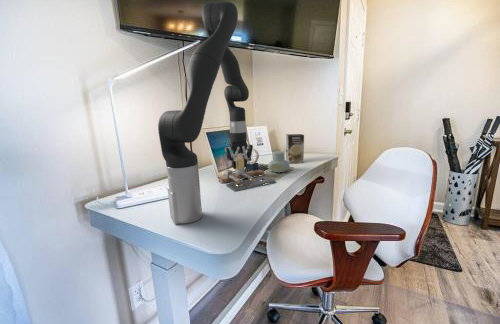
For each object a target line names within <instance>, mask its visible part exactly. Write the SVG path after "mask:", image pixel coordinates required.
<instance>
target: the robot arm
mask: <svg viewBox="0 0 500 324" xmlns="http://www.w3.org/2000/svg"><path fill="white" fill-rule="evenodd" d="M201 12H202V13H201V16H202V23H203V27H204V29H205V31H206V34H207V36H208V38H207V39H205V40H204V41H202V43H201V44H199V45H198V46H197V47H196V48H195V49H194V51H193V52H192V54H191V57H190V59H189V62H188V63H187V67H186V71H185V77H186V82H187V86H188V89H189V90H188V91H189V94H188V98H187V100H186V103H185V106H184V107H183V108H182V110H178V109H177V110H166V111H164V112H162V113H161V115H160V117H159V120H158V123H157V131H158V136H159V144H160V148H161V149H160V150H161V155H162V157H163V160H164V161H165V166H166V174H167V181H168V182H167V183H168V188H167V196H168V203H169V204H168V205H169V214H170V218H171V220H172V222H173V223H174V225H178V224H182V225H183V224H190V223H191V224H192V223H195V222H196V221H199V220H200V219H201V218H202V217H203V208H202V207H203V206H202V198H201V197H202V196H201V185H200V173H199V161H198V159H199V158H198V155H197V153H195V152H193V151H192V150H191V149H189V148H188V146H187V145H186V143H187V144H188V143H189V144H190V143H193V142H195V141H196V140H197V139H198V137H199V136H200V133H201V130H202V127H203V122H204V120H205V115H206V110H207V106H208V102H209V99H210V97H211V96H210V95H211V93H212V89H213V86H214V83H215V82H216V79H217V76H218V73H219V70H220V68H221V71H222V75H223V78H224V82H225V83H226V84H228V85H227V86H225V88H224V92H223V94H224V98H225V102H226V104H227V108H228V112H229V137H230V138H229V140H230V141H229V142H230V145H229V146H227V147H223V149H224V152H225V156H226V158H227V160H229V161H231V168H232V169H234V170H235V169H236V158H237V157H238V154H240V155H241V157H242V158H244V168H246V166H247V164H248V163H247V159H248V160H249V159H250V158H251V157H252V155H253V154H252V153H253V150H252V149H254V146H253V144H248V141H247V140H248V134H247V123H246V122H247V121H246V109H245V108H244V107H242V106H237V105H236V104H235V102H237V103H238V102H239V103H240V102H246V101H247V100H249V99H248V98H249V95H250V94H249V93H250V91H249V88H248V86H247V84H246V82H245V80H244V79H243V76H242V73H241V69H240V64H239V61H238V58H237V57H236V55H235V54H234V53H233V51H232V50H231V49H230V48H229V47H228V46H229V44H230V41H231V39H232V37H233V35H234V33H235V31H236V28H237V24H238V19H239V14H238V13H239V12H238V8H237V6H236V5H235V4H234V3H233V2H231V1H212V2H211V1H209V2H205V4H204V5H203V7H202V11H201ZM246 149H247V150H246ZM231 151H232V152H231ZM246 151H247V153H246Z"/></svg>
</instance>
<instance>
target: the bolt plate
mask: <svg viewBox="0 0 500 324" xmlns="http://www.w3.org/2000/svg"><path fill="white" fill-rule="evenodd" d="M265 183H272V184H276V180H275V179H273V178H270V177H268V176H265V175H264V176H259V177H254V178H252V181H250V179H244V180H240V184H238V182H237V181H233V182H228V183H225V185H226V187H227V188H228V189H230V190H231V191H233V192H239V191H243V190H244V191H245V190H247V189H252V188H257V187H261V186H262V185H263V184H265ZM263 186H264V185H263ZM263 186H262V187H263Z"/></svg>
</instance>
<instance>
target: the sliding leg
mask: <svg viewBox="0 0 500 324" xmlns="http://www.w3.org/2000/svg"><path fill="white" fill-rule="evenodd" d="M234 170H235V171H234V172H235V174H237V175H242V176H244V177H246V178H248V179H247V180H250V181H252V179H253V178H252V177H251V176H249V175H247V174H245V172H246V168H245V167H244V158H243V156H237V157H236V169H234Z"/></svg>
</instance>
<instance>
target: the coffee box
mask: <svg viewBox="0 0 500 324" xmlns="http://www.w3.org/2000/svg"><path fill="white" fill-rule="evenodd" d="M285 136H286V137H285V138H286V139H285V160H286V161H287V162H288V163H289V165H290V164H304V163H305V162H304V161H305V160H304V158H305V157H304V156H305V151H304V150H305V148H304V147H305V135H304V134H302V133H293V134H290V133H289V134H288V133H287V134H286V135H285Z"/></svg>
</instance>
